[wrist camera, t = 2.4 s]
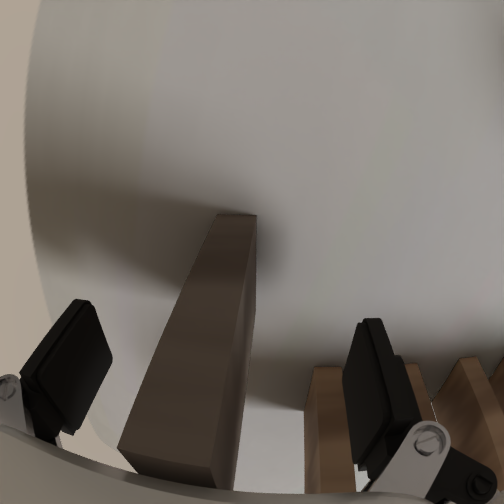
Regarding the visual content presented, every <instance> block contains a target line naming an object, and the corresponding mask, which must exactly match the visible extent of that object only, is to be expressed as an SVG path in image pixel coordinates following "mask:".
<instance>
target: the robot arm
mask: <svg viewBox="0 0 504 504" xmlns="http://www.w3.org/2000/svg"><path fill="white" fill-rule="evenodd" d="M112 360H113V357H112V353H111V351H110V348H109V346H108V343H107V341H106V338H105V335H104V333H103V330H102V327H101V324H100V322H99V319H98V316H97V313H96V310H95V307H94V306H93V305H92V304H91V302H90V301H88V300H81V299H75V300H73V301H72V303H71V304H70V305H69V306H68V308H67V309H66V310H65V311H64V313H63V314H62V315H61V316H60V318H59V319H58V320H57V321H56V323H55V324H54V325H53V327H52V328H51V329H50V331H49V332H48V333H47V335H46V336H45V337H44V338H43V340H42V341H41V343H40V344H39V345H38V347H37V348H36V349H35V351H34V352H33V354H32V355H31V356H30V358H29V359H28V361H27V362H26V363H25V365H24V366H23V368H22V369H21V371H20V372H19V373H20V375H21V378H20V380H19V379H18V377H17V376H15V375H12V374H7V375H3V376H1V377H0V504H504V490H501V491H499V490H498V489H497V478H496V475H495V473H494V472H493V471H492V470H491V469H490V468H488V467H487V466H485V465H483V464H481V463H479V462H477V461H476V460H474V459H472V458H470V457H468V456H467V455H465V454H463V453H461V452H460V451H458V450H456V449H454V448H453V447H451V446H450V445H451V440H450V435H449V433H448V431H447V430H446V429H445V427H444V426H442V425H441V424H439V423H437V422H434V421H423V420H422V417H421V413H420V410H419V407H418V404H417V400H416V397H415V394H414V391H413V388H412V385H411V382H410V379H409V376H408V373H407V370H406V367H405V364H404V362H403V359H402V357H401V356H399V355H394V353H393V350H392V347H391V344H390V341H389V338H388V336H387V333H386V330H385V327H384V325H383V322H382V320H381V319H380V318H364V319H363V321H362V323H358V324H357V327H356V330H355V334H354V338H353V341H352V345H351V348H350V352H349V355H348V358H347V362H346V365H345V368H344V371H343V375H342V386H343V393H344V400H345V407H346V414H347V422H348V429H349V437H350V446H351V454H352V462H353V464H358V471H366V470H367V474H368V478H369V479H370V480H369V482H368V483H367V484H366V486H365V487H364V488H363V489H362V491H361V492H346V493H322V494H276V493H254V492H241V491H230V490H221V489H213V488H206V487H199V486H193V485H187V484H182V483H176V482H171V481H166V480H162V479H157V478H153V477H149V476H144V475H141V474H136V473H133V472H129V471H125V470H122V469H119V468H115V467H112V466H109V465H106V464H102V463H99V462H97V461H93V460H91V459H88V458H85V457H82V456H80V455H77V454H74V453H71V452H69V451H67V450H64V449H63V448H62V444H61V441H60V437H59V432H60V430H62V432H65V433H67V434H70V435H72V436H73V435H74V433H75V431H76V430H78V429H79V428H80V427H81V425H82V423H83V421H84V419H85V416H86V414H87V412H88V410H89V408H90V406H91V404H92V402H93V400H94V398H95V396H96V394H97V392H98V390H99V388H100V386H101V384H102V382H103V380H104V378H105V376H106V374H107V372H108V370H109V368H110V366H111V364H112Z"/></svg>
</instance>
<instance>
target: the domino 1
mask: <svg viewBox="0 0 504 504" xmlns="http://www.w3.org/2000/svg"><path fill="white" fill-rule="evenodd" d="M256 218H257V215H225V214H217V217H216V219H215V221H214V223H213V225H212V227H211V229H210V231H209V233H208V235H207V237H206V239H205V241H204V243H203V246H202V248H201V250H200V252H199V254H198V256H197V258H196V260H195V263H194V265H193V267H192V269H191V271H190V273H189V276H188V278H187V280H186V282H185V284H184V287H183V289H182V291H181V293H180V295H179V298H178V300H177V302H176V304H175V307H174V309H173V311H172V313H171V316H170V318H169V320H168V322H167V325H166V327H165V329H164V332H163V334H162V336H161V339H160V341H159V343H158V346H157V348H156V350H155V353H154V355H153V357H152V360H151V362H150V365H149V367H148V369H147V372H146V374H145V377H144V379H143V382H142V384H141V387H140V389H139V392H138V394H137V397H136V399H135V402H134V404H133V407H132V409H131V412H130V414H129V417H128V420H127V422H126V425H125V427H124V430H123V433H122V435H121V438H120V441H119V443H118V446H117V449H118V450H119V451H120V453H121V454H122V455H123V456H124V457H125V459H126V460H127V461H128V462H129V463H130V465H131V466H132V467H133V468H134V469H135V470H136V472H137V473H138V474H141V475H144V476H149V477H153V478H157V479H162V480H166V481H171V482H176V483H182V484H187V485H193V486H199V487H206V488H213V489H221V490H230V491H233V487H234V480H235V472H236V465H237V457H238V449H239V442H240V434H241V426H242V418H243V411H244V403H245V395H246V387H247V379H248V371H249V362H250V354H251V346H252V338H253V329H254V321H255V313H256Z"/></svg>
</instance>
